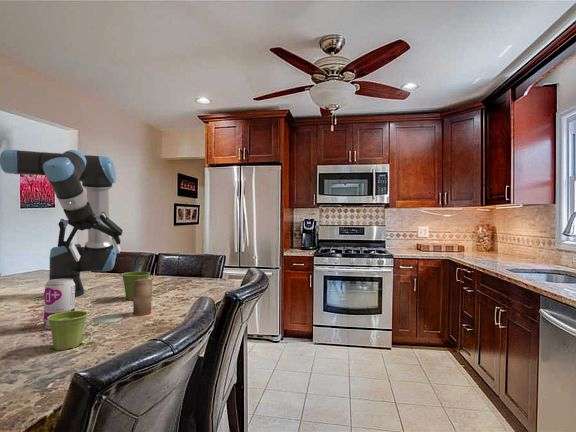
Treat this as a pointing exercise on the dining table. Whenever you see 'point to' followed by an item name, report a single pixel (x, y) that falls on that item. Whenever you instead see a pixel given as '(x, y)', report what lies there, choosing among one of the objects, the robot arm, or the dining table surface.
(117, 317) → the board
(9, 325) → the dining table surface
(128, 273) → the plant pot
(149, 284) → the walnut canister
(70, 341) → the plant pot
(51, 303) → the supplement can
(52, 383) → the dining table surface
